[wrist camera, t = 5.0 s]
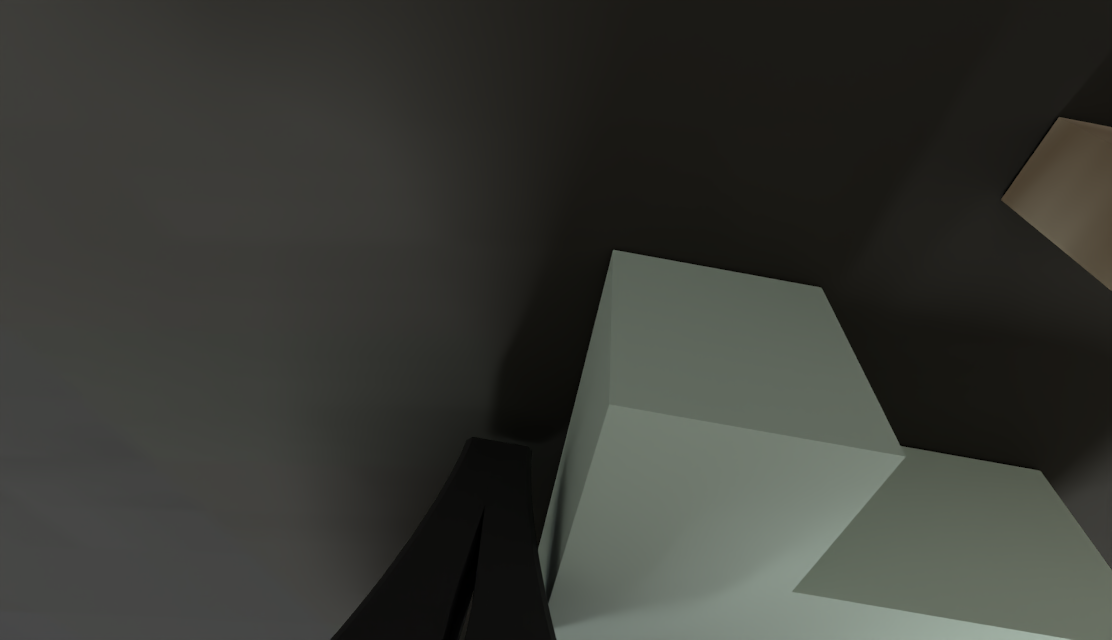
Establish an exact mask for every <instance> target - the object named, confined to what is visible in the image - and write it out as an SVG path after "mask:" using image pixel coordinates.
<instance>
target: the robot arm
mask: <svg viewBox="0 0 1112 640" xmlns="http://www.w3.org/2000/svg"><path fill="white" fill-rule="evenodd" d="M531 457H532V451H531V450H530V449H529V448H528V447H526V446H521V445H515V444H509V443H503V442H498V441H492V440H486V439H480V438H475V437H472V438H470V439H468V440H467V441H466V443H465V446H464V448H463V450H462V453H461V455H460V457H459V459H458V461H457V463H456V465H455V467H454V469H453V471H452V472H451V474H450V476H449V478H448V480H447V481H446V483H445V485H444V487H443V488H442V490H441V492H440V493H439V495H438V497H437V498H436V500H435V502H434V503H433V505H432V506H431V508H430V509H429V511H428V512H427V514H426V515H425V517H424V518H423V520H422V522H421V523H420V525H419V526H418V528H417V529H416V531H415V532H414V534H413V535H412V537H411V538H410V539H409V541H408V542H407V544H406V545H405V546H404V548H403V549H402V550H401V552H400V553H399V555H398V556H397V557H396V559H395V560H394V561H393V563H392V564H391V565H390V567H389V568H388V570H387V571H386V572H385V574H384V575H383V576H382V578H381V579H380V580H379V582H378V583H377V584H376V585H375V587H374V588H373V589H372V590H371V592H370V593H369V594H368V595H367V597H366V598H365V599H364V600H363V602H362V603H361V604H360V605H359V607H358V608H357V609H356V610H355V611H354V613H353V614H352V615H351V616H350V617H349V619H348V620H347V621H346V622H345V623H344V625H343V626H342V627H341V628H340V629H339V630H338V632H337V633H336V634H335V635H334V636H333V637H332V638H331V639H330V640H459V638H460V634H461V631H462V627H463V624H464V621H465V617H466V614H467V610H468V607H469V604H470V600H471V597H472V593H473V590H474V593H473V601H472V609H471V613H470V618H469V622H468V627H467V632H466V636H465V640H557V639H556V635H555V631H554V627H553V623H552V619H551V614H550V610H549V606H548V601H547V596H546V591H545V587H544V582H543V576H542V571H541V566H540V560H539V553H538V547H537V540H536V533H535V526H534V518H533V507H532V495H531Z"/></svg>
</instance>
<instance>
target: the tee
mask: <svg viewBox="0 0 1112 640" xmlns="http://www.w3.org/2000/svg"><path fill="white" fill-rule="evenodd" d="M538 553H539V560H540V566H541V571H542V576H543V582H544V587H545V591H546V596H547V601H548V606H549V610H550V614H551V619H552V623H553V627H554V631H555V635H556V639H557V640H1112V570H1111V569H1110V567H1109V566H1108V564H1107V563H1106V562H1105V560H1104V559H1103V557H1102V556H1101V555H1100V553H1099V552H1098V550H1097V549H1096V548H1095V546H1094V545H1093V543H1092V542H1091V541H1090V539H1089V538H1088V536H1087V535H1086V534H1085V532H1084V531H1083V529H1082V528H1081V527H1080V525H1079V524H1078V523H1077V521H1076V520H1075V518H1074V517H1073V516H1072V514H1071V513H1070V511H1069V510H1068V509H1067V507H1066V506H1065V504H1064V503H1063V502H1062V500H1061V499H1060V497H1059V496H1058V495H1057V493H1056V492H1055V490H1054V489H1053V488H1052V486H1051V485H1050V483H1049V482H1048V481H1047V479H1046V478H1045V476H1044V475H1043V474H1042V472H1041V471H1039V470H1034V469H1028V468H1022V467H1017V466H1011V465H1005V464H1000V463H994V462H988V461H983V460H977V459H972V458H966V457H960V456H955V455H949V454H943V453H938V452H932V451H926V450H921V449H915V448H909V447H904V446H900V444H899V442H898V440H897V438H896V436H895V434H894V432H893V430H892V428H891V426H890V424H889V422H888V420H887V418H886V416H885V414H884V412H883V410H882V408H881V406H880V404H879V402H878V400H877V398H876V396H875V394H874V392H873V390H872V388H871V386H870V384H869V382H868V380H867V378H866V376H865V374H864V372H863V370H862V368H861V366H860V364H859V362H858V360H857V358H856V356H855V354H854V352H853V350H852V348H851V346H850V344H849V342H848V340H847V338H846V336H845V334H844V332H843V330H842V328H841V326H840V324H839V322H838V320H837V318H836V316H835V314H834V312H833V310H832V308H831V306H830V304H829V302H828V300H827V298H826V296H825V294H824V292H823V290H822V288H821V287H815V286H810V285H804V284H799V283H793V282H788V281H782V280H777V279H771V278H766V277H760V276H755V275H749V274H744V273H738V272H733V271H727V270H722V269H716V268H711V267H705V266H700V265H694V264H689V263H683V262H678V261H672V260H667V259H662V258H656V257H651V256H645V255H640V254H634V253H629V252H623V251H618V250H613V252H612V256H611V260H610V264H609V268H608V272H607V276H606V280H605V284H604V288H603V292H602V296H601V300H600V304H599V308H598V312H597V316H596V320H595V324H594V328H593V332H592V336H591V340H590V344H589V348H588V352H587V356H586V360H585V364H584V368H583V372H582V376H581V380H580V384H579V388H578V392H577V396H576V400H575V404H574V408H573V412H572V416H571V420H570V424H569V428H568V432H567V436H566V440H565V444H564V448H563V452H562V456H561V460H560V464H559V468H558V472H557V476H556V480H555V484H554V488H553V492H552V496H551V500H550V504H549V508H548V512H547V516H546V520H545V524H544V528H543V532H542V536H541V540H540V544H539V548H538Z"/></svg>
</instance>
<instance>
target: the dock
mask: <svg viewBox="0 0 1112 640" xmlns="http://www.w3.org/2000/svg"><path fill="white" fill-rule="evenodd" d="M1001 200H1002V201H1003V202H1004V203H1005V204H1007V205H1008V206H1009V207H1010V208H1012V209H1013V210H1014V211H1015V212H1016V213H1018V214H1019V215H1020V216H1021V217H1022V218H1024V219H1025V220H1026V221H1027V222H1029V223H1030V224H1031V225H1032V226H1033V227H1035V228H1036V229H1037V230H1038V231H1039V232H1041V233H1042V234H1043V235H1044V236H1045V237H1047V238H1048V239H1049V240H1050V241H1052V242H1053V243H1054V244H1055V245H1056V246H1058V247H1059V248H1060V249H1061V250H1062V251H1064V252H1065V253H1066V254H1067V255H1069V256H1070V257H1071V258H1072V259H1073V260H1075V261H1076V262H1077V263H1078V264H1079V265H1081V266H1082V267H1083V268H1084V269H1086V270H1087V271H1088V272H1089V273H1090V274H1092V275H1093V276H1094V277H1095V278H1096V279H1098V280H1099V281H1100V282H1101V283H1103V284H1104V285H1105V286H1106V287H1107V288H1109V289H1110V290H1111V291H1112V127H1108V126H1103V125H1098V124H1093V123H1088V122H1082V121H1077V120H1072V119H1067V118H1062V117H1059V118H1058V119H1057V121H1056V122H1055V123H1054V125H1053V126H1052V128H1051V129H1050V131H1049V132H1048V133H1047V135H1046V136H1045V138H1044V139H1043V140H1042V142H1041V143H1040V145H1039V146H1038V148H1037V149H1036V150H1035V152H1034V153H1033V155H1032V156H1031V157H1030V159H1029V160H1028V162H1027V163H1026V165H1025V166H1024V167H1023V169H1022V170H1021V172H1020V173H1019V175H1018V176H1017V177H1016V179H1015V180H1014V182H1013V183H1012V184H1011V186H1010V187H1009V189H1008V190H1007V192H1006V193H1005V194H1004V196H1003V197H1002V199H1001Z"/></svg>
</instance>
